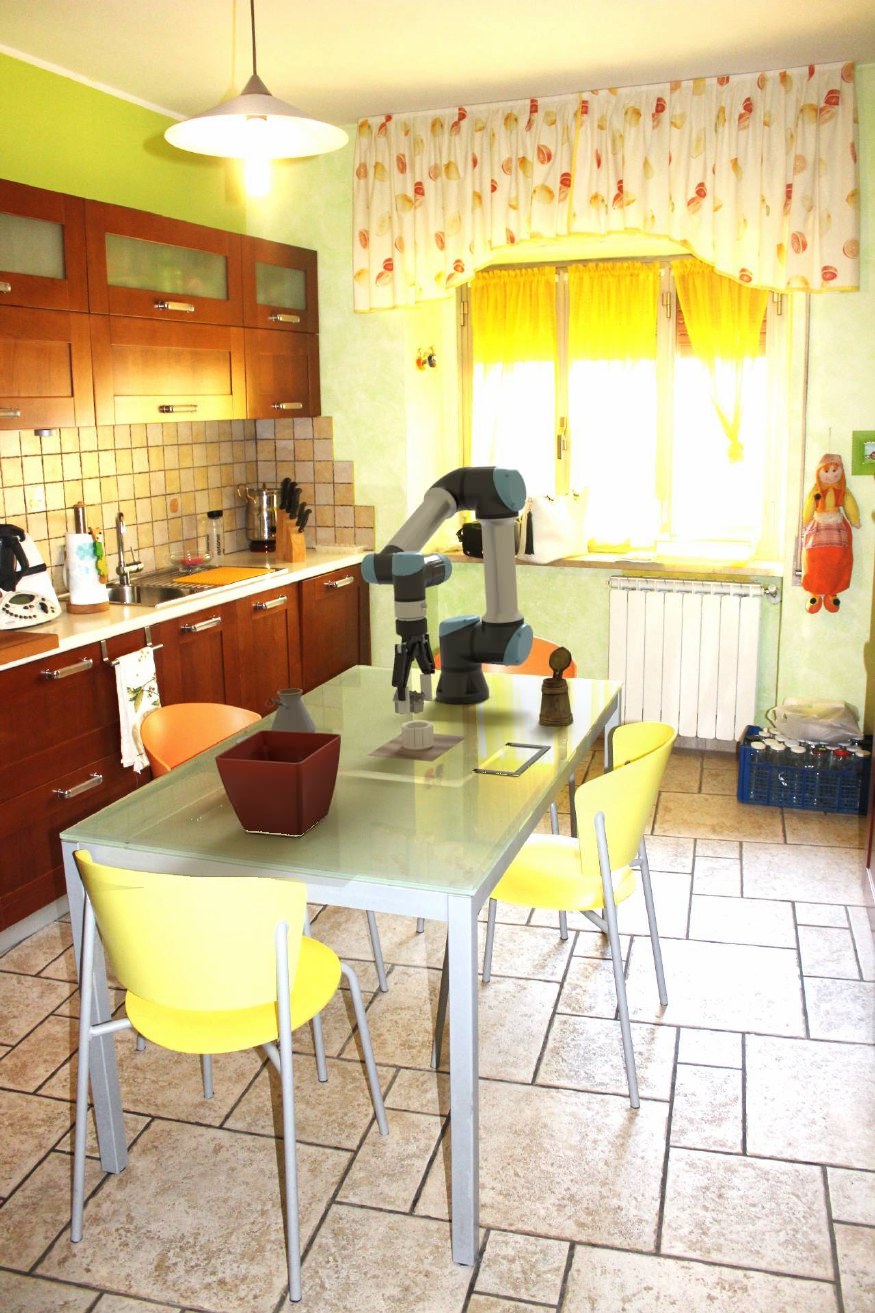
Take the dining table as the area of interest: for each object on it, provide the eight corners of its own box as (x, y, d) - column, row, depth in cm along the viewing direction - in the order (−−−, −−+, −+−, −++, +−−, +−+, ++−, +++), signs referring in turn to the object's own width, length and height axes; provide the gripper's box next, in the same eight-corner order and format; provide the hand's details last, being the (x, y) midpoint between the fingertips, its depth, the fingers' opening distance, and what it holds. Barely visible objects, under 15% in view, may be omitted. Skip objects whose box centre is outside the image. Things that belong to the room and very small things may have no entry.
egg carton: (423, 714, 260) (422, 697, 259) (391, 715, 261) (390, 698, 260) (427, 702, 271) (426, 685, 270) (396, 702, 271) (395, 686, 270)
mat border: (478, 740, 273) (478, 739, 273) (551, 747, 265) (551, 746, 265) (440, 768, 254) (440, 767, 253) (518, 776, 245) (518, 775, 245)
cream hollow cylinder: (411, 739, 272) (410, 719, 271) (438, 742, 269) (437, 721, 268) (397, 748, 266) (396, 728, 265) (425, 751, 263) (424, 730, 262)
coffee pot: (279, 733, 288) (275, 677, 285) (322, 733, 286) (317, 677, 283) (251, 759, 268) (245, 699, 264) (296, 759, 265) (291, 699, 262)
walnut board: (405, 735, 280) (405, 731, 280) (467, 741, 273) (466, 736, 273) (368, 759, 263) (367, 754, 262) (432, 766, 255) (432, 761, 255)
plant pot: (220, 838, 219) (212, 756, 215) (267, 804, 236) (261, 728, 232) (306, 847, 212) (299, 763, 208) (348, 812, 229) (343, 734, 226)
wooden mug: (581, 712, 293) (579, 646, 289) (568, 727, 280) (567, 658, 276) (548, 711, 296) (546, 645, 292) (534, 725, 283) (532, 657, 279)
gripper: (402, 627, 249) (407, 721, 253) (446, 609, 269) (450, 695, 274) (372, 626, 252) (378, 718, 256) (418, 608, 273) (423, 693, 277)
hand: (415, 706), depth 265 cm, fingers closed on egg carton, 11 cm apart
